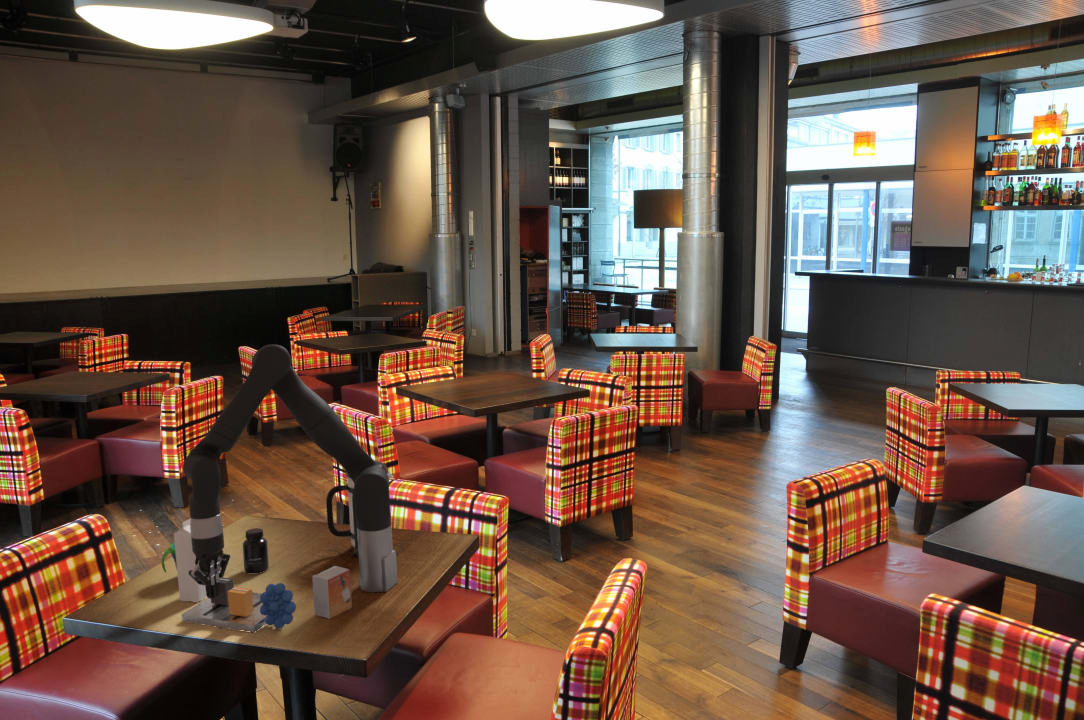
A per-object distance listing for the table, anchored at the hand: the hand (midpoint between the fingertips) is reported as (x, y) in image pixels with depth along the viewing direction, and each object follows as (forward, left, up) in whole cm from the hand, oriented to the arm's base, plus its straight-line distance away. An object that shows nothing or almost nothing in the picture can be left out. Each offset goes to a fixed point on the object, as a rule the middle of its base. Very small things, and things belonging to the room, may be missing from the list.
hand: (212, 597), depth 210 cm
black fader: (0, -4, -3) cm, 5 cm away
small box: (-28, -12, -6) cm, 31 cm away
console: (-5, -4, -5) cm, 8 cm away
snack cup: (+24, -20, -6) cm, 32 cm away
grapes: (-20, 0, -6) cm, 21 cm away
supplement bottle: (+9, -29, -6) cm, 31 cm away
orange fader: (-9, 0, -3) cm, 9 cm away
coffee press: (-14, -52, -6) cm, 54 cm away
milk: (+13, -9, -6) cm, 17 cm away
